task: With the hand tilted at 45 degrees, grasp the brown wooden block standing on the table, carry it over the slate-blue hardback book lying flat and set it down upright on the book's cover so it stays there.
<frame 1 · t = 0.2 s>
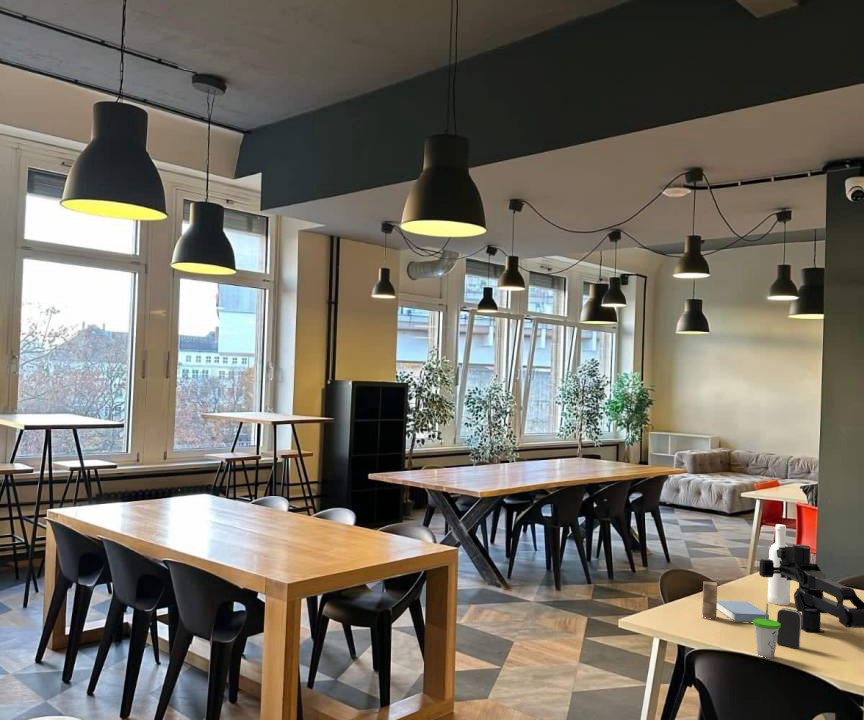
hand: (773, 564, 292), 17 cm above the table, tool horizontal, fingers open, 9 cm apart
book: (741, 615, 279), on the table
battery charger: (788, 646, 247), on the table
bottle: (778, 603, 300), on the table
cup: (765, 656, 236), on the table
brown wooden block: (709, 617, 276), on the table
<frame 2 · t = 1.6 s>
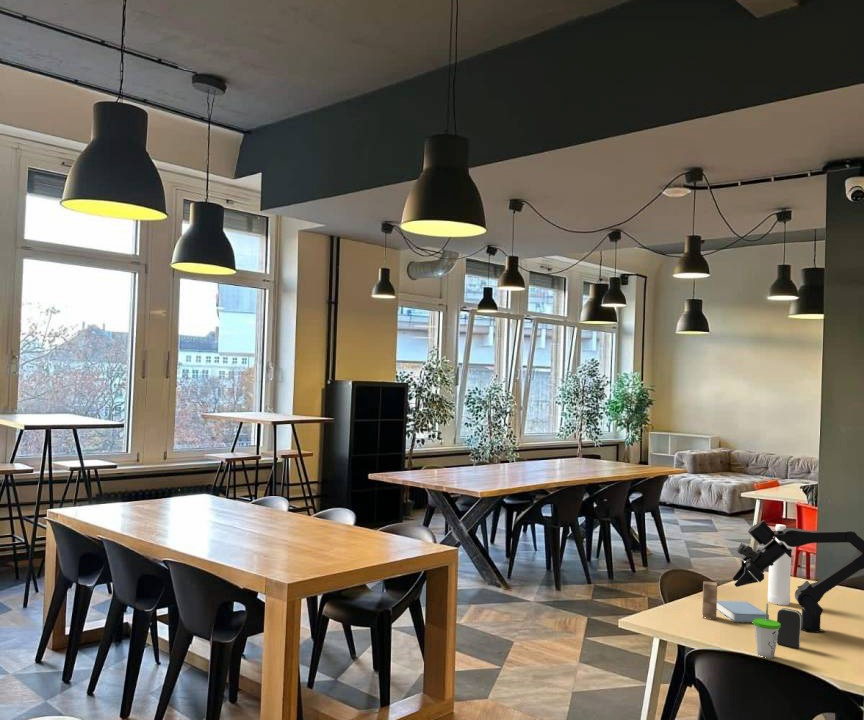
hand: (734, 582, 274), 13 cm above the table, tool tilted 45°, fingers open, 9 cm apart
nothing on the table moved.
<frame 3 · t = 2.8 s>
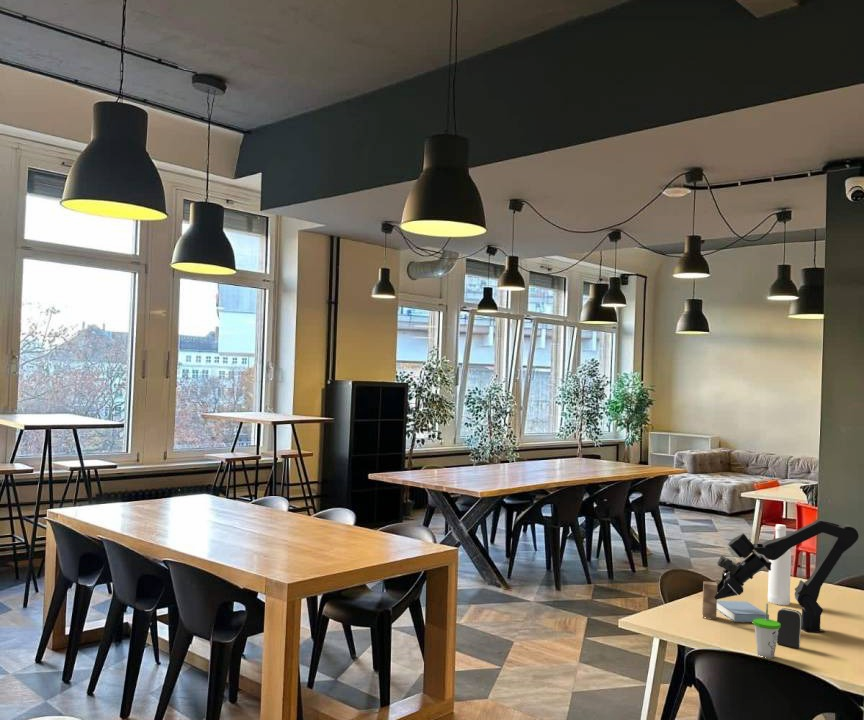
hand: (714, 595, 276), 8 cm above the table, tool tilted 45°, fingers open, 9 cm apart
nothing on the table moved.
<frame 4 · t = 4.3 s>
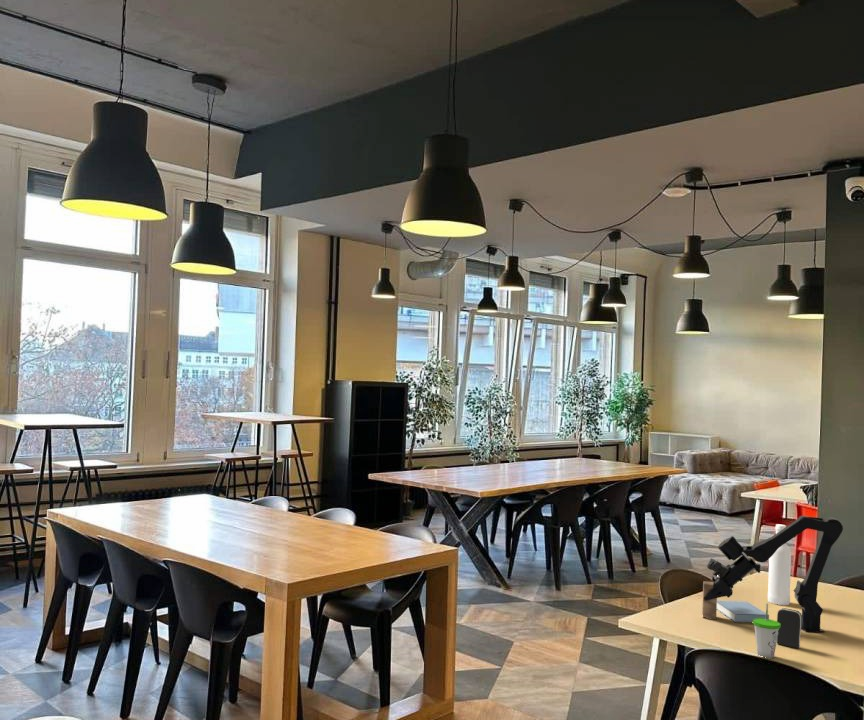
hand: (704, 597, 277), 7 cm above the table, tool tilted 45°, fingers closed on brown wooden block, 4 cm apart
brown wooden block: (709, 617, 276), on the table, touching gripper
everything else where it was.
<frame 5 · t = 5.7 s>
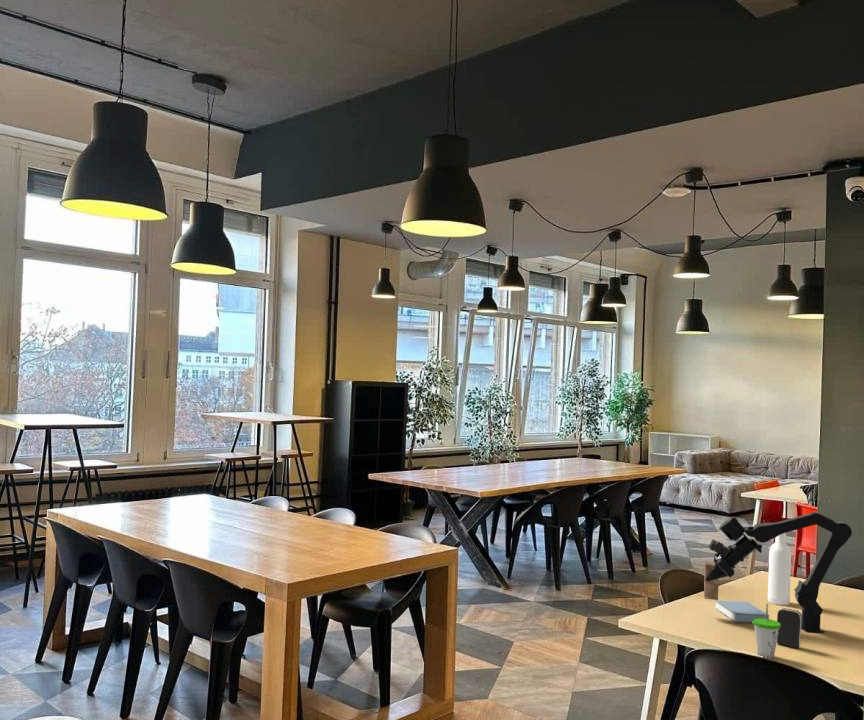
hand: (706, 578, 277), 13 cm above the table, tool tilted 45°, fingers closed on brown wooden block, 4 cm apart
brown wooden block: (710, 597, 276), point 7 cm above the table, touching gripper
everything else where it was.
when the fingers open (10 cm above the table, at t = 7.6 s): brown wooden block stays where it is, resting on book.
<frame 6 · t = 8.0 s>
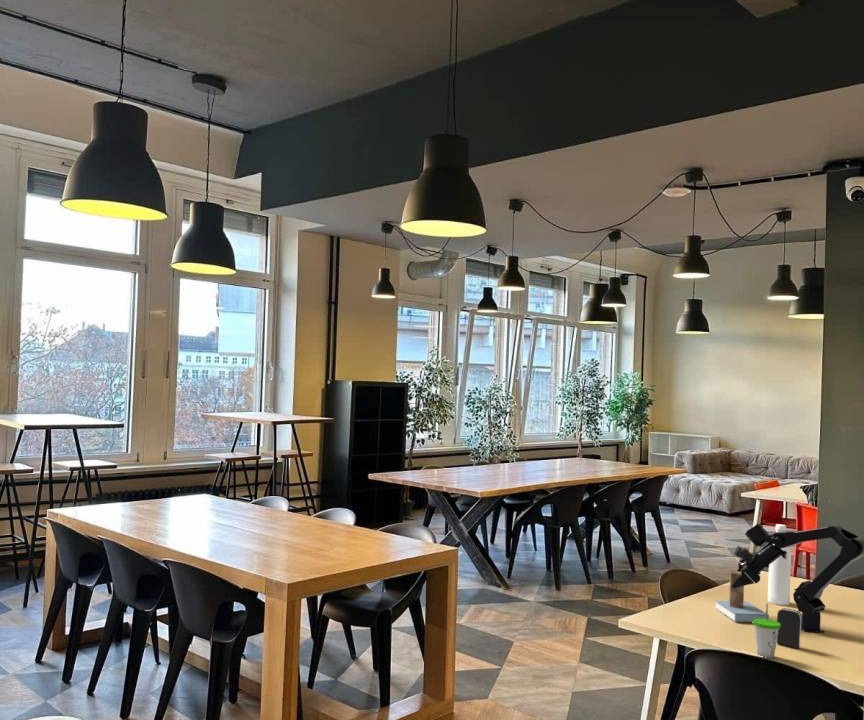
hand: (731, 584, 282), 11 cm above the table, tool tilted 45°, fingers open, 8 cm apart
brown wooden block: (736, 605, 281), point 3 cm above the table, touching book
everything else where it was.
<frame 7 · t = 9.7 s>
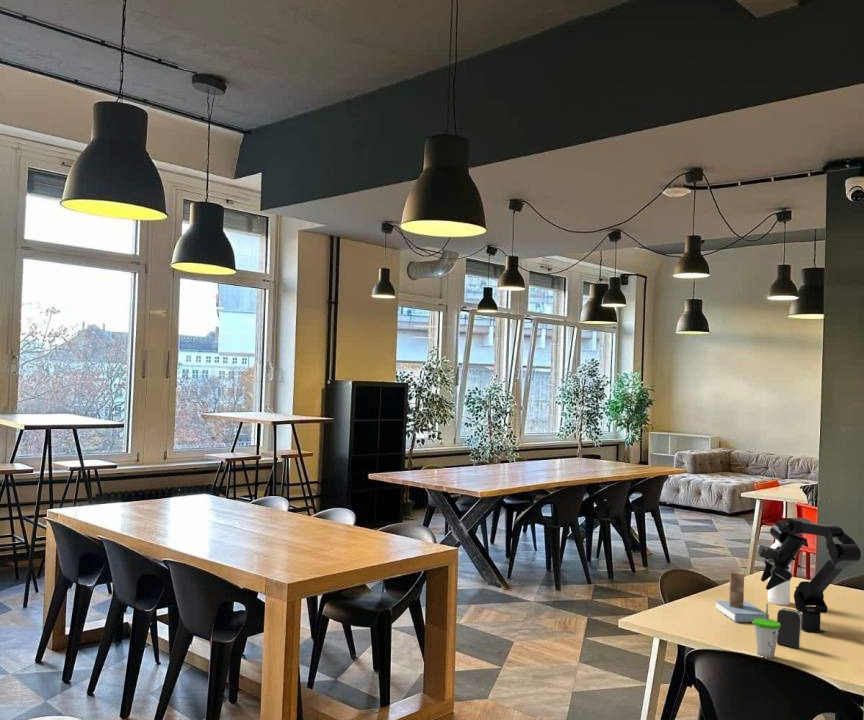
hand: (764, 585, 280), 11 cm above the table, tool tilted 30°, fingers open, 9 cm apart
nothing on the table moved.
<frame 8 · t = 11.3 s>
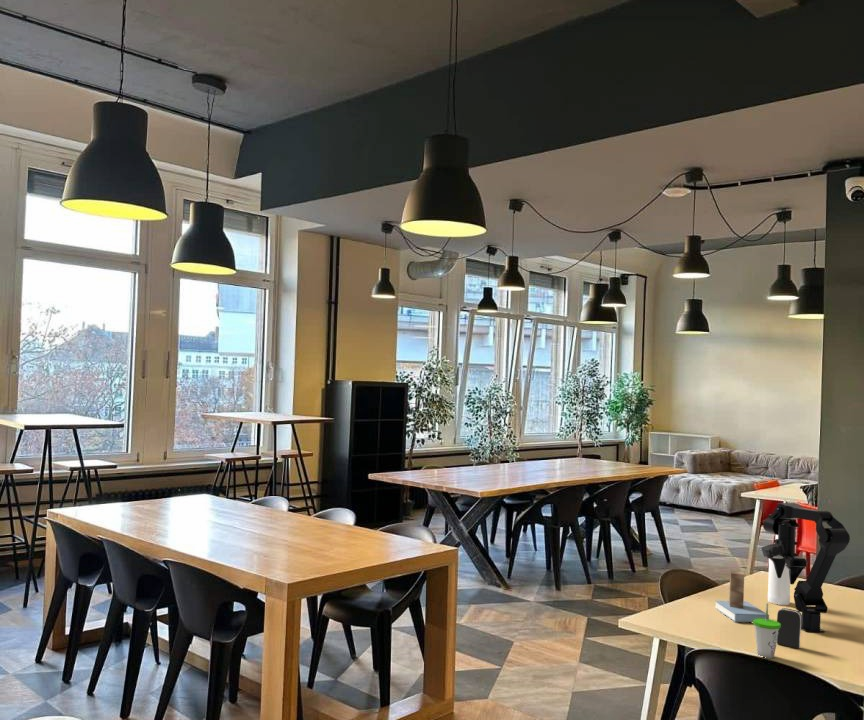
hand: (785, 581, 281), 13 cm above the table, tool pointing down, fingers open, 9 cm apart
nothing on the table moved.
at the end: brown wooden block inside the target area (1.5 cm from its centre), point 3.0 cm above the table; brown wooden block tilted 0°; brown wooden block touching book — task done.
